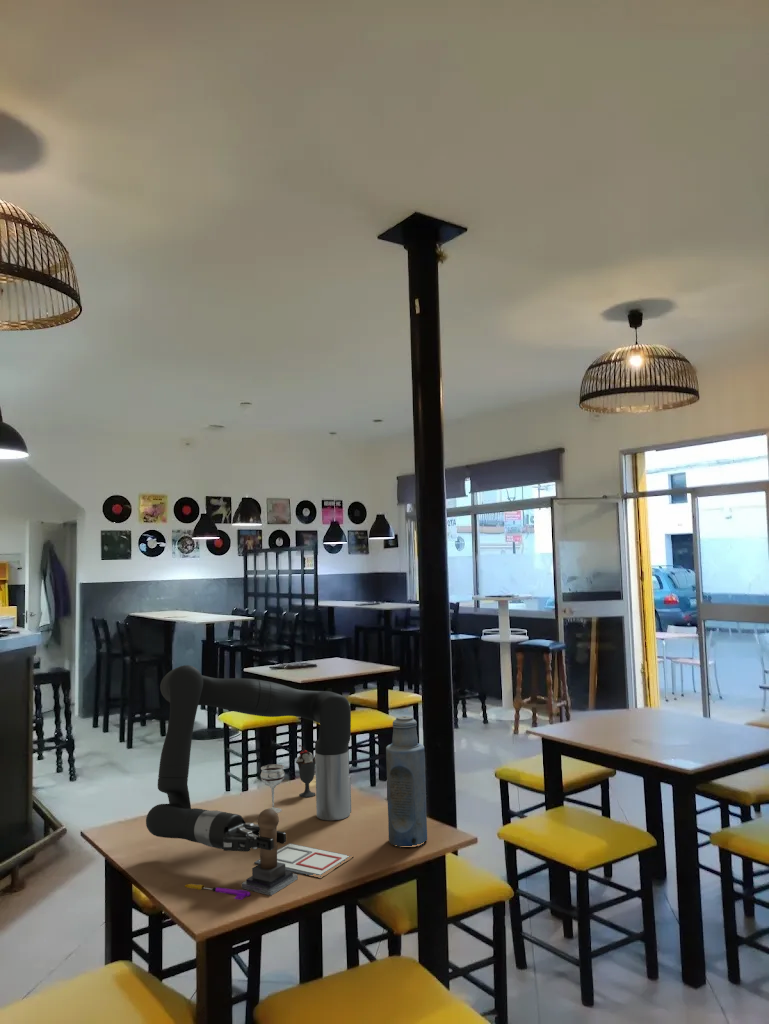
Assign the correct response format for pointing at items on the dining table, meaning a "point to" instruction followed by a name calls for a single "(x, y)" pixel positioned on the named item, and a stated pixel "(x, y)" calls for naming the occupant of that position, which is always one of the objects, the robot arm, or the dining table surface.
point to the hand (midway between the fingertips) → (278, 841)
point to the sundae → (306, 771)
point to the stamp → (268, 858)
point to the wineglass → (272, 779)
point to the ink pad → (269, 883)
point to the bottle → (406, 785)
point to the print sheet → (307, 859)
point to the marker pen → (222, 890)
